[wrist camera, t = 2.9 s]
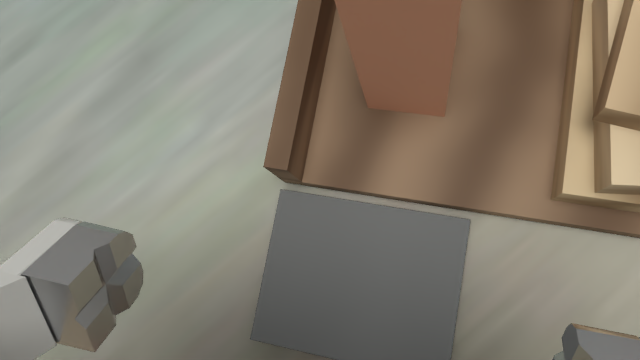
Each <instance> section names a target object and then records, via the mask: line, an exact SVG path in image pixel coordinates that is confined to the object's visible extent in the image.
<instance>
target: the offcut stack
mask: <svg viewBox="0 0 640 360" xmlns="http://www.w3.org/2000/svg"><path fill="white" fill-rule="evenodd" d="M551 200H554V201H561V202H568V203H575V204H581V205H588V206H595V207H602V208H609V209H616V210H622V211H629V212H636V213H640V0H574V4H573V12H572V21H571V30H570V38H569V47H568V56H567V64H566V73H565V82H564V90H563V99H562V108H561V116H560V125H559V134H558V142H557V151H556V160H555V169H554V177H553V186H552V195H551Z"/></svg>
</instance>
